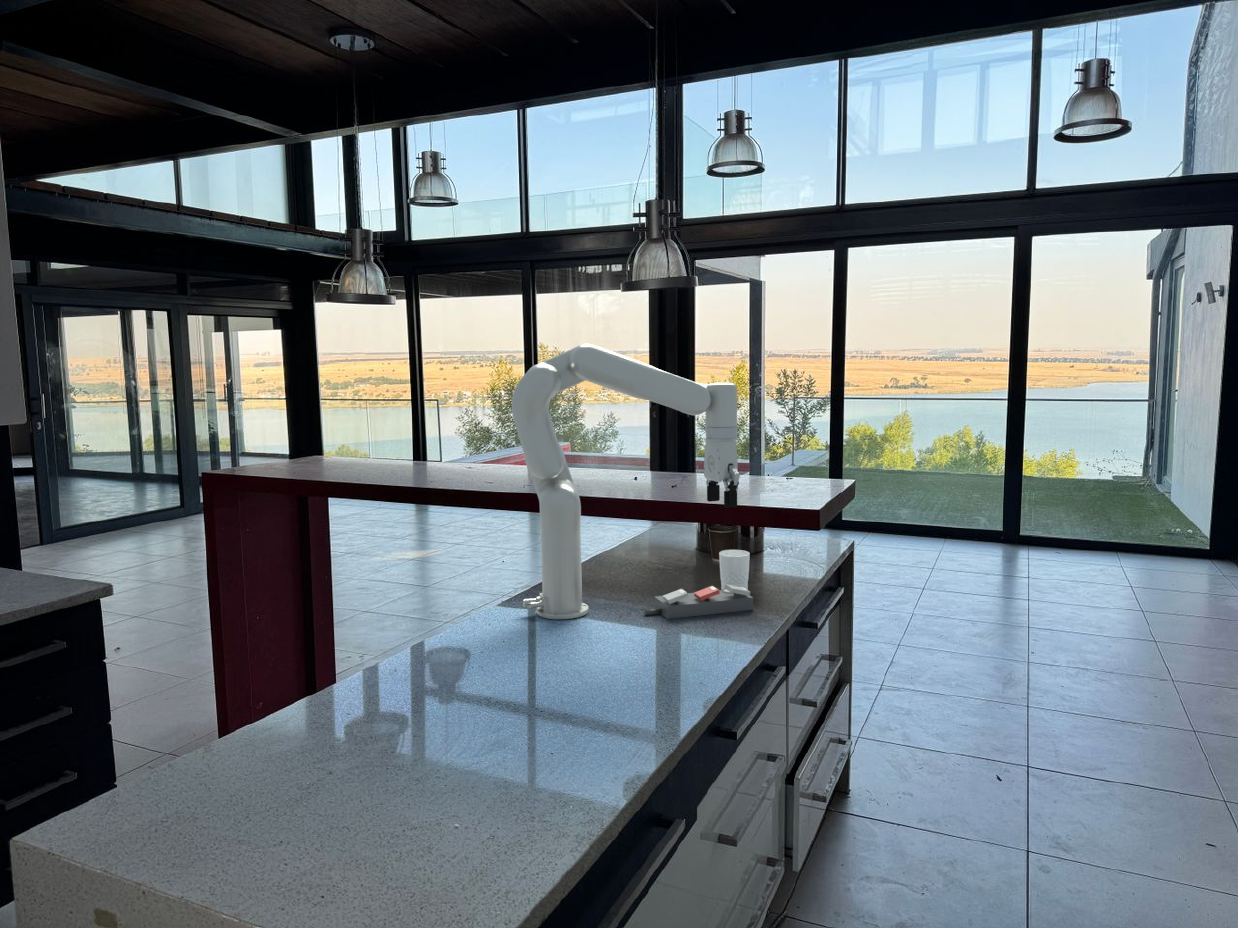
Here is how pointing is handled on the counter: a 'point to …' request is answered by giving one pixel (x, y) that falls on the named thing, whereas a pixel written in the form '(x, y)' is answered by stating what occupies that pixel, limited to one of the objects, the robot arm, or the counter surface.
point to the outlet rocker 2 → (706, 593)
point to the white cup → (734, 568)
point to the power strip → (702, 605)
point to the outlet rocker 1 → (675, 596)
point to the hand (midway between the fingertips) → (721, 504)
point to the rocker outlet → (737, 590)
